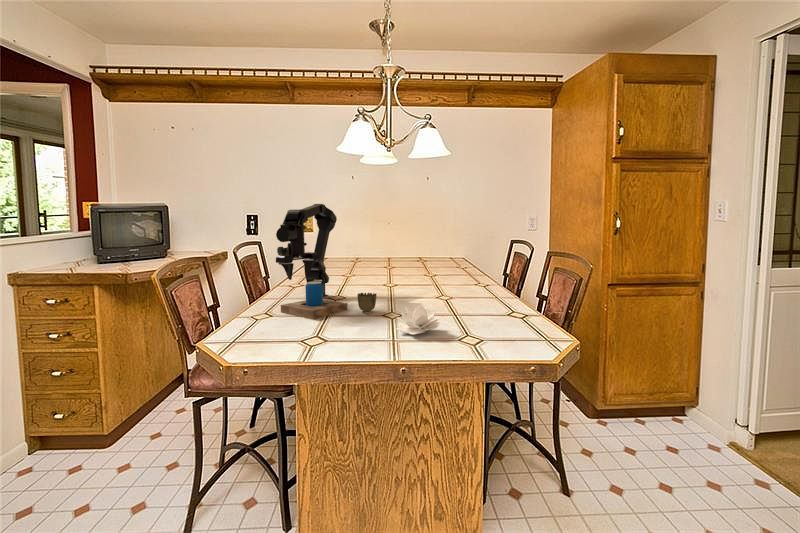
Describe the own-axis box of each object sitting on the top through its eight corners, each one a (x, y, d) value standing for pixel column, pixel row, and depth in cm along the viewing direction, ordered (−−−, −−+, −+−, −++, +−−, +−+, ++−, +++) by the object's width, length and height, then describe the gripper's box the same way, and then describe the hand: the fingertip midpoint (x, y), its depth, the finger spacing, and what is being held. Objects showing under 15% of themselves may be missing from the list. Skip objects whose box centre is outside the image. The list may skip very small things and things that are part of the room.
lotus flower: (389, 334, 141) (389, 307, 140) (404, 324, 155) (404, 299, 154) (432, 338, 136) (433, 310, 135) (444, 327, 150) (444, 302, 149)
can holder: (315, 306, 185) (315, 298, 184) (347, 311, 174) (347, 303, 174) (280, 313, 170) (280, 304, 170) (313, 320, 160) (313, 310, 159)
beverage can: (321, 314, 169) (320, 283, 168) (304, 314, 169) (303, 283, 168) (324, 311, 175) (323, 281, 174) (307, 311, 175) (307, 281, 174)
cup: (373, 316, 165) (373, 295, 164) (354, 315, 167) (354, 294, 166) (378, 312, 173) (378, 292, 172) (360, 312, 174) (360, 291, 173)
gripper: (299, 238, 192) (301, 274, 194) (265, 241, 177) (267, 279, 179) (318, 239, 186) (319, 276, 188) (284, 242, 171) (286, 282, 173)
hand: (298, 278), depth 182 cm, fingers open, 9 cm apart
